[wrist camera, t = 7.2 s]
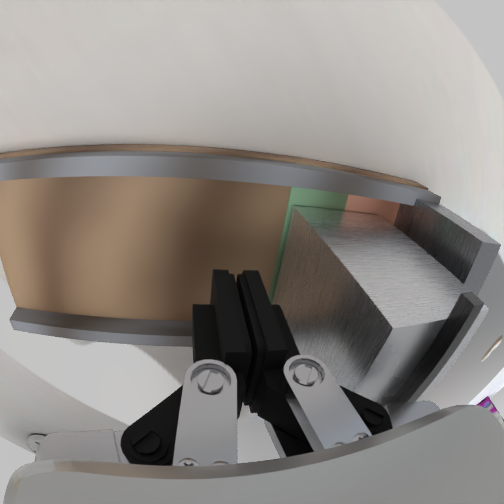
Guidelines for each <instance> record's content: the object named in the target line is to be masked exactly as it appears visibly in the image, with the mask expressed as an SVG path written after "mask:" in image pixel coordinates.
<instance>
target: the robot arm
mask: <svg viewBox="0 0 504 504" xmlns="http://www.w3.org/2000/svg"><path fill="white" fill-rule="evenodd" d="M192 344H193V363H194V364H192V365H191V366H190V367H189V368H188V369H187V371H186V374H185V378H184V384H183V385H182V386H181V387H180V388H179V389H177V390H176V391H175V392H174V393H172V394H171V395H170V396H169V397H167V398H166V399H165V400H163V401H162V402H161V403H159V404H158V405H157V406H156V407H154V408H153V409H152V410H150V411H149V412H148V413H146V414H145V415H144V416H142V417H141V418H140V419H138V420H137V421H136V422H134V423H133V424H132V425H130V426H129V427H128V428H127V429H126V430H125V431H116V432H113V430H112V429H109V430H97V431H80V432H55V433H50V434H48V435H47V436H44V435H31V436H29V437H28V441H27V444H28V446H29V447H30V449H31V450H32V451H33V452H35V453H36V456H35V462H33V463H29V464H26V465H24V466H22V467H20V468H19V469H17V470H16V471H15V472H14V473H13V475H12V476H11V478H10V480H9V483H8V485H7V489H6V493H5V497H4V503H3V504H504V428H503V427H502V425H501V424H500V422H499V421H498V420H497V418H496V417H495V416H494V415H493V414H492V412H490V411H489V410H488V409H486V408H484V407H482V406H477V405H457V406H452V407H448V408H444V409H441V410H440V409H439V407H438V406H437V405H436V404H435V403H433V402H430V401H415V402H405V403H391V404H386V405H385V406H382V405H380V404H378V403H376V402H374V401H372V400H370V399H368V398H366V397H363V396H361V395H359V394H357V393H355V392H353V391H351V390H349V389H346V388H344V387H342V386H340V385H339V384H338V383H337V381H336V380H335V378H334V377H333V375H332V374H331V372H330V371H329V369H328V368H327V366H326V365H325V364H324V363H323V362H322V361H321V360H319V359H318V358H315V357H313V356H309V355H300V353H299V350H298V348H297V345H296V343H295V340H294V338H293V336H292V333H291V331H290V328H289V326H288V323H287V321H286V318H285V316H284V313H283V311H282V308H281V307H280V305H278V304H271V303H270V300H269V297H268V295H267V292H266V289H265V287H264V284H263V281H262V279H261V276H260V273H259V271H258V270H243V272H242V274H237V279H236V281H235V276H234V274H229V271H228V270H221V269H213V273H212V285H211V298H210V304H193V305H192ZM242 403H244V405H249V407H250V412H251V413H257V414H258V416H259V417H261V418H263V419H264V420H265V425H266V428H267V430H268V432H269V435H270V436H271V439H272V441H273V443H274V446H275V448H276V450H277V452H278V454H279V456H280V458H279V459H273V460H266V461H258V462H249V463H241V464H237V419H238V418H239V415H240V411H241V407H242Z"/></svg>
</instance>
